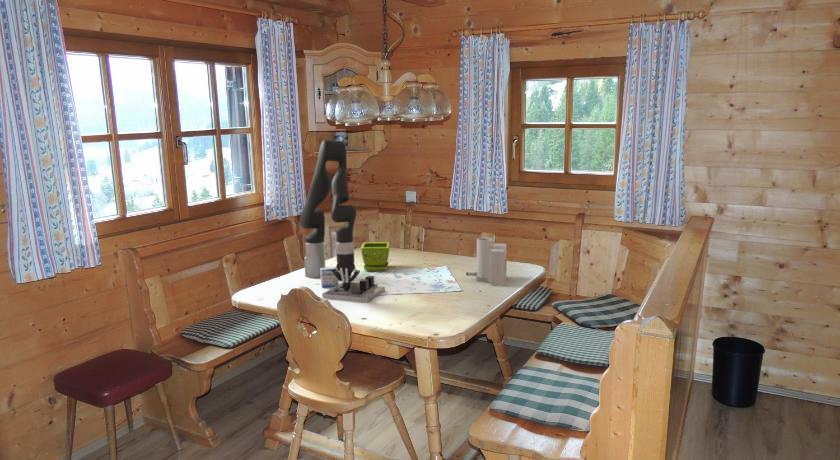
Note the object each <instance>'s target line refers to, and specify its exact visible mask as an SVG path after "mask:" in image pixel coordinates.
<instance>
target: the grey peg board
mask: <svg viewBox="0 0 840 460" xmlns="http://www.w3.org/2000/svg"><path fill="white" fill-rule="evenodd" d="M353 282H354V283H360V294H351V286H350V289H349V291H344V289H343V282H340V283H339V284H338V285H337V286H335V287H330V289H328V290H326V291H325V292H323V293H322V294H321V296H322V297H323V298H322V297H321V298H322V299H325V298H327V299H329V300H337V301H346V302H355V303H356V302H357V303H365V304H369V303H370V302H372V301H373V300H375V299H376V298H378V297H379V296H380V295H382V294H383V293H384V292H386V286H381V285H378V283H375V275H366V276H365V278H364V279H363V278H362V279H360V280H359V282H358V281H357V282H356V281H352V282H350V284H352V283H353Z"/></svg>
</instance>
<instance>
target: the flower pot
mask: <svg viewBox="0 0 840 460" xmlns="http://www.w3.org/2000/svg"><path fill="white" fill-rule="evenodd" d="M390 243H391V242H386V241H385V242H381V241H379V242H377V241H376V242H374V241H373V242H363V243H362V245H361V248H360V250H361V257H362V261H363V263H364V265H363V269H364V271H367V272H373V271H375V272H385V271H386V270H387V269H388V266H389V263H390V262H389V261H388V259H389V254H390V248H391V247H390V245H391V244H390Z"/></svg>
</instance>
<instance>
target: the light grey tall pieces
mask: <svg viewBox="0 0 840 460" xmlns="http://www.w3.org/2000/svg"><path fill="white" fill-rule="evenodd" d="M507 245H508V244H507V243H494V239H493V238H491V237H479V238H478V237H477V238H476V271H475V272H465V275H466V277H467V276H469V277H472V276H473V277H475V279H476V281H477V282H486V283H488V284H490V286H494V287H497V286H498V287H505V283H506V279H507V256H508V255H507V254H508V253H507V248H508V247H507Z"/></svg>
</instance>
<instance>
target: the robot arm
mask: <svg viewBox="0 0 840 460" xmlns="http://www.w3.org/2000/svg"><path fill="white" fill-rule="evenodd" d="M347 159H348V157H347V147H346V144H345V142H344V141H342V140H334V139H333V140H332V139H323V140H322V141H321V143H320V146H319V150H318V155H317V161H316V164H315V165H316V167H315V169H314V174H313V176H312V179H311V183H310V187H309V191H308V195H307V197H306V201H305V203H304V205H303V208H302V211H301V212H300V213H301V214H300V217H299V218H300V221H299V222H300V226H301V227H302V228H303V229H307V230H310V229H313V230H312V232H310V233H308V234H307V235H306V236H305V237H304V242H305V243H304V244H305V246H304V248H305V257H304V259H303V261H304V275H305V277H307V278H311V279H316V278H318V279H319V278H321V274H320V268H326V251H325V249H326V248H325V234H326V233H325V231H326V230H325V228H326V224H325V223H326V217H325V214H324V213H325V212H324V211H323V209H322V208H317V207H319V206H320V205H321V204H322V203H323V202H324V201H325V200H326V199H327V198H328V197H329V194H330V192H331V195H332V207H331V212H330V213H331V214H330V217H331V220H332V221H333V222H334V223H338V224H339V223H346V225H344V226H341V227H338V228H337V229H336V231H335V235H336V237H335V239H336V244H335V245H336V246H335V251H336V266H335V267H336V268H334V269H333V270H332V272H333V273H334V275H335V276H336V277H337V279H338V280H339V282H341V283H343V289H344V291H349V289H350V282H355V280H356V278H357V277H358V276H359V275H360V273H361V270H360V269H358V268H356V265H355V247H354V234H353V233H354V226H355V221H356V217H357V210H356V207H355V206H354V205H350V204H347V205H343V204H345V203H348V202H349V201H350V194H349V193H350V192H349V185H348V178H347V177H348V175H347V173H348V170H347V168H348V160H347ZM327 162H338V168H337V171H336V173H335V174H334V176H333V178H331V175H330V173H329V171H328V168H327V167H326V166H327V165H326V164H327Z"/></svg>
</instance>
